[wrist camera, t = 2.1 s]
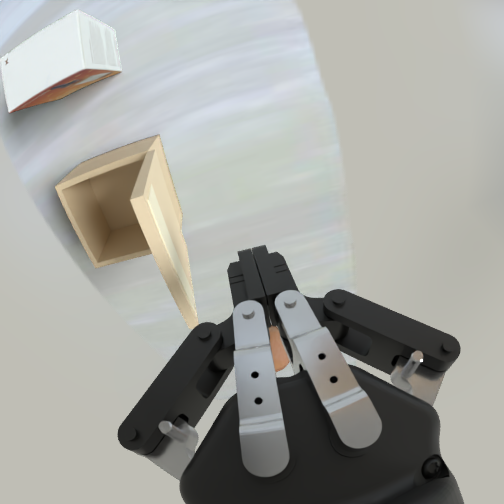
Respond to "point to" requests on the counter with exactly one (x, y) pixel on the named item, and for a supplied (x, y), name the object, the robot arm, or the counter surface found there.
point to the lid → (164, 234)
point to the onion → (277, 349)
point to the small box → (59, 61)
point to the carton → (111, 202)
